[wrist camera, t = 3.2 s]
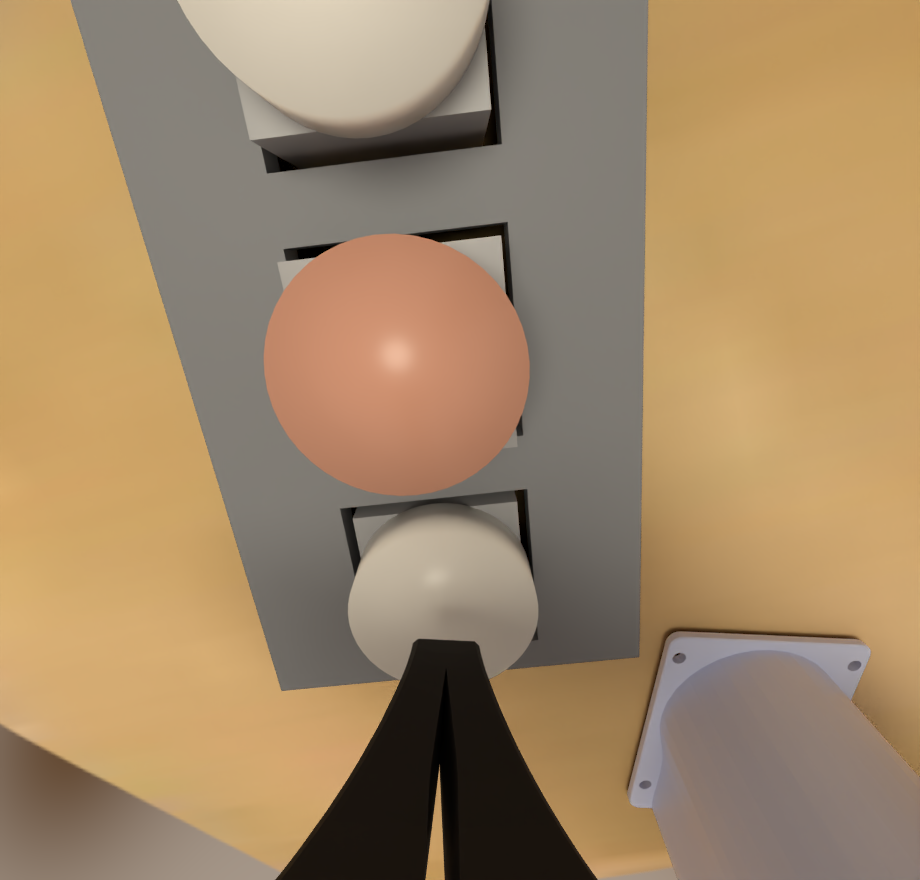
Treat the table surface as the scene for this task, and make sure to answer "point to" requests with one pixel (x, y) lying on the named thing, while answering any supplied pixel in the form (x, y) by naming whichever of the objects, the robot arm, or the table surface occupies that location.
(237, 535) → the console
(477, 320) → the knob middle
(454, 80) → the knob
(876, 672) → the table surface
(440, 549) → the knob
